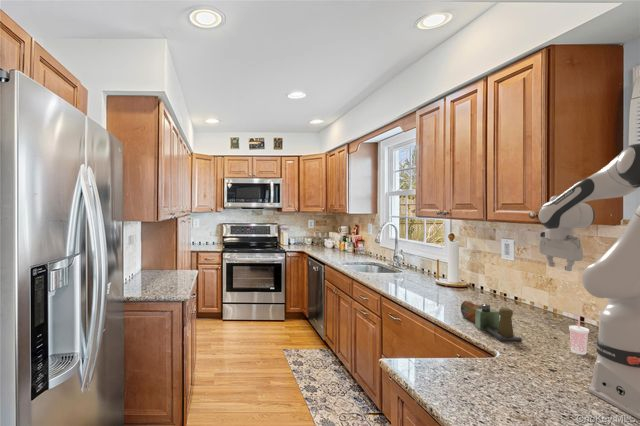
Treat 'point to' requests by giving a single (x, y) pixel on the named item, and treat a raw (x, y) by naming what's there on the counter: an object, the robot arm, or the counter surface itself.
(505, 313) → the cork
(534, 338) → the counter surface
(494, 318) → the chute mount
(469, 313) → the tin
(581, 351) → the beverage cup
